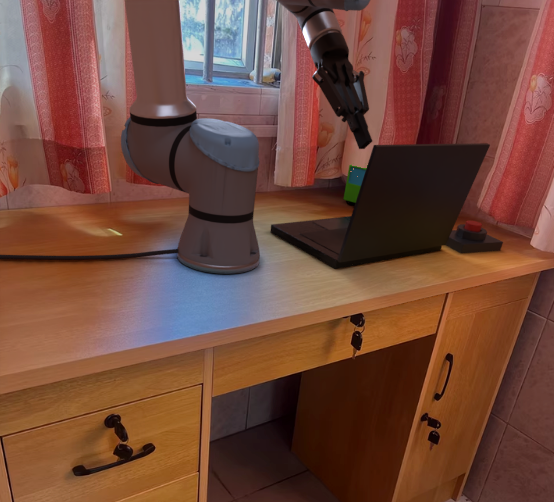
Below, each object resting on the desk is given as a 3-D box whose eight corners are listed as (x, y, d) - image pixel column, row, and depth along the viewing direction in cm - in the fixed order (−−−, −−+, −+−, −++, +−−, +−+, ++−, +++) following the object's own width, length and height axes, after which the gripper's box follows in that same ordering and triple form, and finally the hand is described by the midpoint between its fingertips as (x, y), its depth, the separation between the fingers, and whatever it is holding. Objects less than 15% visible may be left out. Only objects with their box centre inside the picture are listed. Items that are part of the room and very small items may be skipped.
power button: (471, 233, 126) (473, 225, 125) (460, 228, 129) (462, 220, 128) (483, 232, 127) (485, 225, 126) (472, 227, 130) (474, 220, 129)
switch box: (460, 253, 124) (465, 236, 122) (434, 240, 131) (439, 223, 129) (500, 251, 129) (505, 234, 127) (473, 237, 136) (478, 221, 134)
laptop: (270, 232, 122) (271, 223, 121) (372, 220, 139) (373, 213, 138) (335, 269, 107) (336, 259, 106) (440, 251, 124) (442, 242, 123)
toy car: (392, 203, 156) (400, 166, 151) (374, 212, 146) (382, 172, 140) (358, 194, 160) (365, 158, 155) (339, 203, 150) (345, 164, 144)
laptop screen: (373, 144, 93) (376, 146, 92) (486, 143, 109) (490, 144, 109) (336, 260, 106) (339, 262, 106) (442, 243, 123) (445, 245, 123)
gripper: (339, 58, 124) (376, 155, 121) (292, 54, 116) (331, 156, 114) (359, 33, 117) (399, 133, 115) (312, 26, 110) (353, 134, 108)
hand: (365, 145), depth 115 cm, fingers closed
